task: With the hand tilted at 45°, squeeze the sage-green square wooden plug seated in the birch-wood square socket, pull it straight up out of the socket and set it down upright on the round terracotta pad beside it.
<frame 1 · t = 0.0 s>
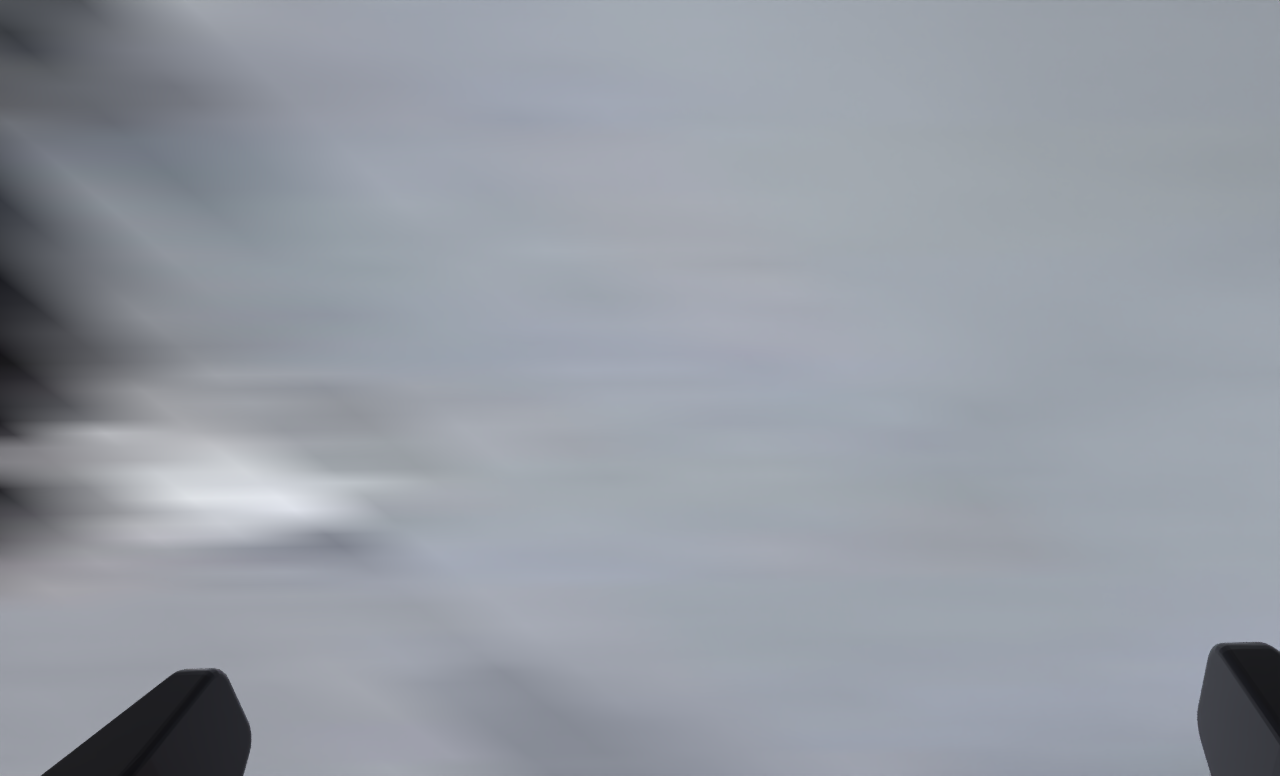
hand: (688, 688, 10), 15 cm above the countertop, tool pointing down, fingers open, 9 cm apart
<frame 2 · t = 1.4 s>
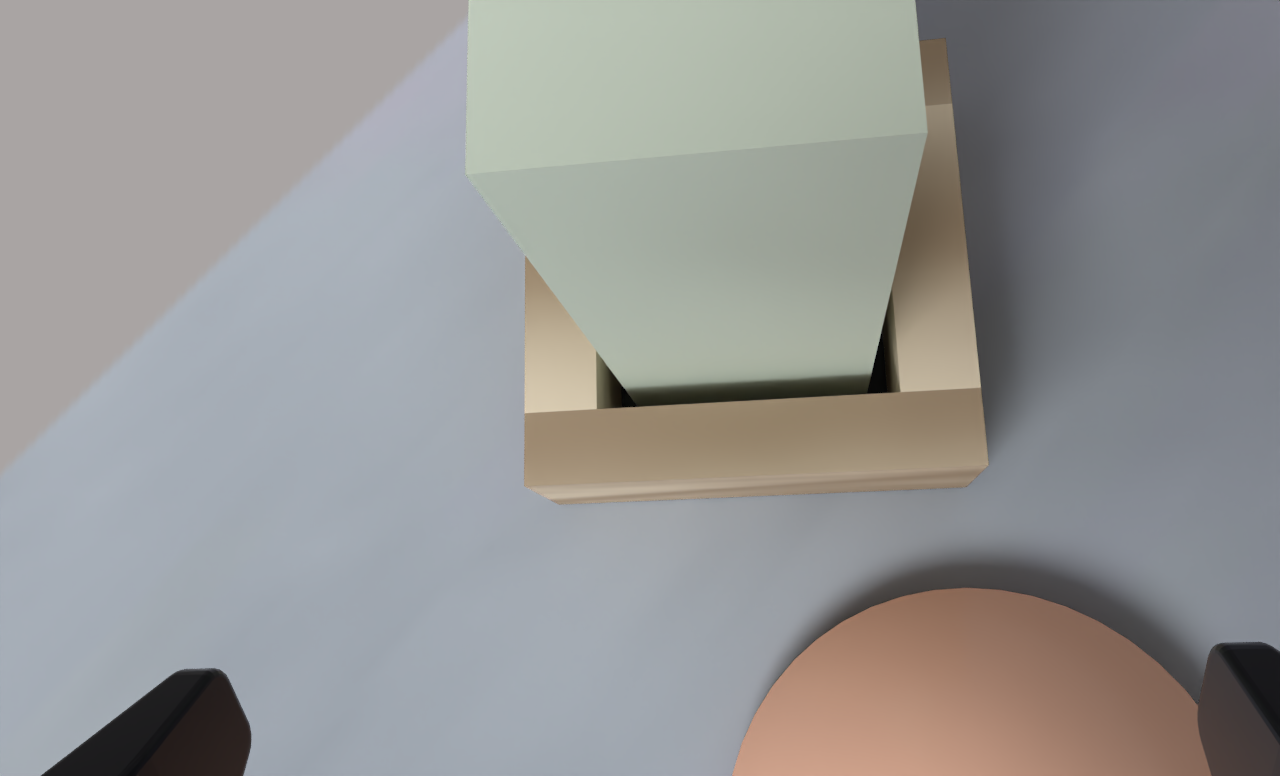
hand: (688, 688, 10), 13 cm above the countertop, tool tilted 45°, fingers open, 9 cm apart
square socket: (747, 303, 24), on the countertop
square plug: (725, 188, 18), in the square socket
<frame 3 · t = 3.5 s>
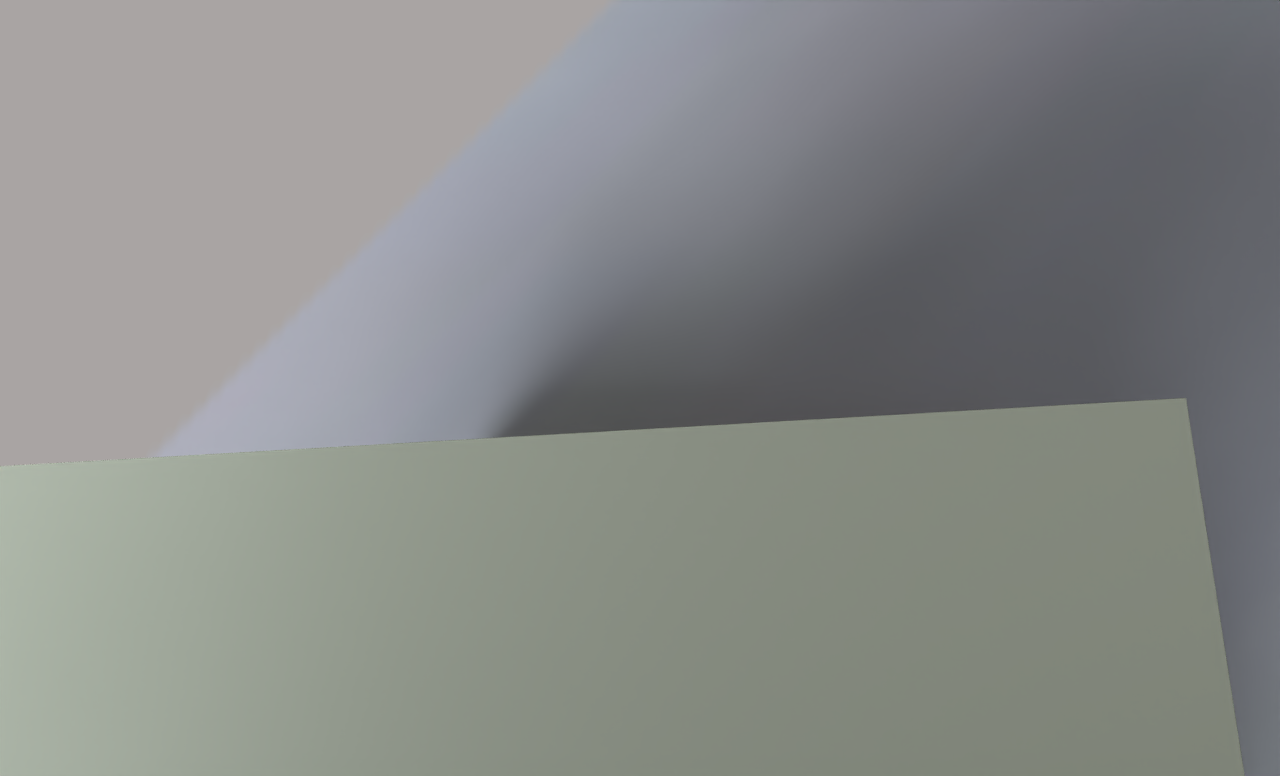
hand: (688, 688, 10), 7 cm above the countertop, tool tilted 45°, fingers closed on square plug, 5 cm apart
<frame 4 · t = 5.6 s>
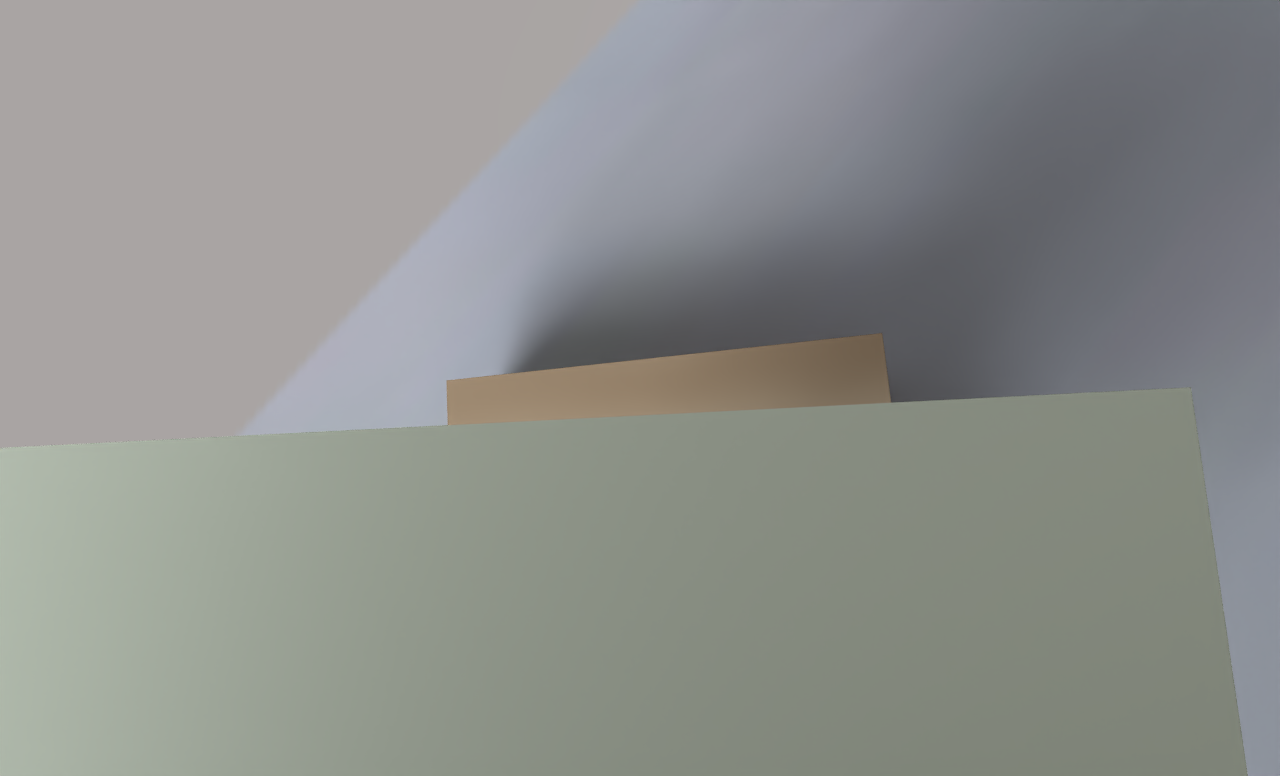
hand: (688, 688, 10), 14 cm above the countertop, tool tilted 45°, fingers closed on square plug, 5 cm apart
square socket: (691, 586, 23), on the countertop
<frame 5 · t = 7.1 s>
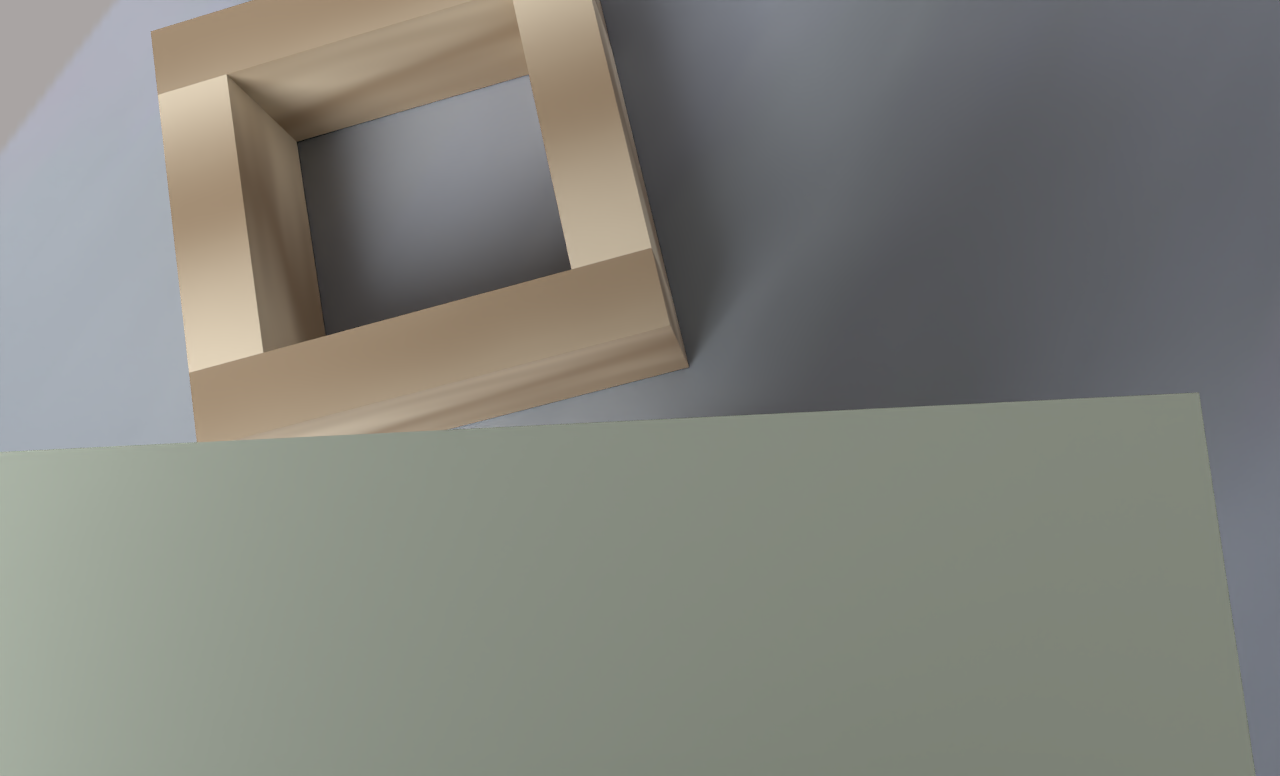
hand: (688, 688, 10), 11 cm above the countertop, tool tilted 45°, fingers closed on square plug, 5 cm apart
square socket: (442, 225, 23), on the countertop
when the fingers open (8 cm above the countertop, at t = 8.0 s): square plug stays where it is, resting on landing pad.
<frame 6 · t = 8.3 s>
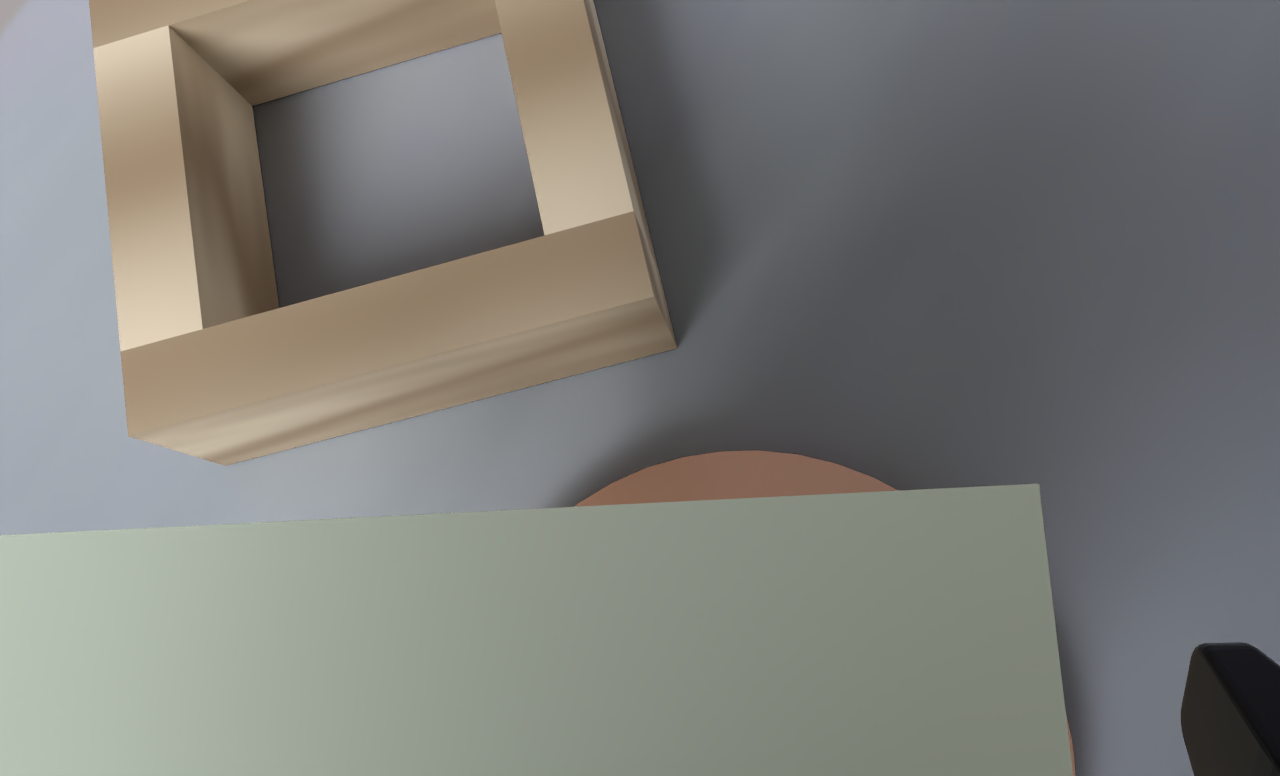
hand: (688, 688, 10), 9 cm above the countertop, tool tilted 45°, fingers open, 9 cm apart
square socket: (409, 195, 21), on the countertop
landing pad: (748, 754, 17), on the countertop
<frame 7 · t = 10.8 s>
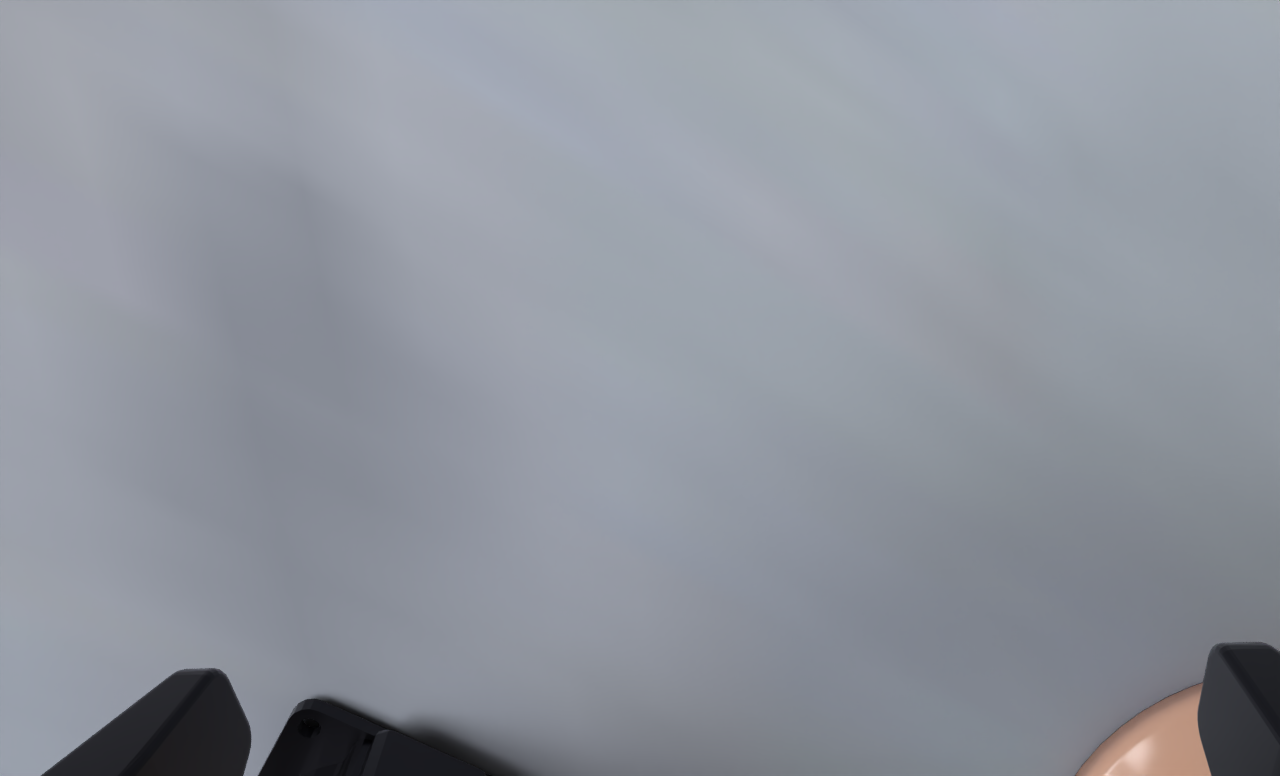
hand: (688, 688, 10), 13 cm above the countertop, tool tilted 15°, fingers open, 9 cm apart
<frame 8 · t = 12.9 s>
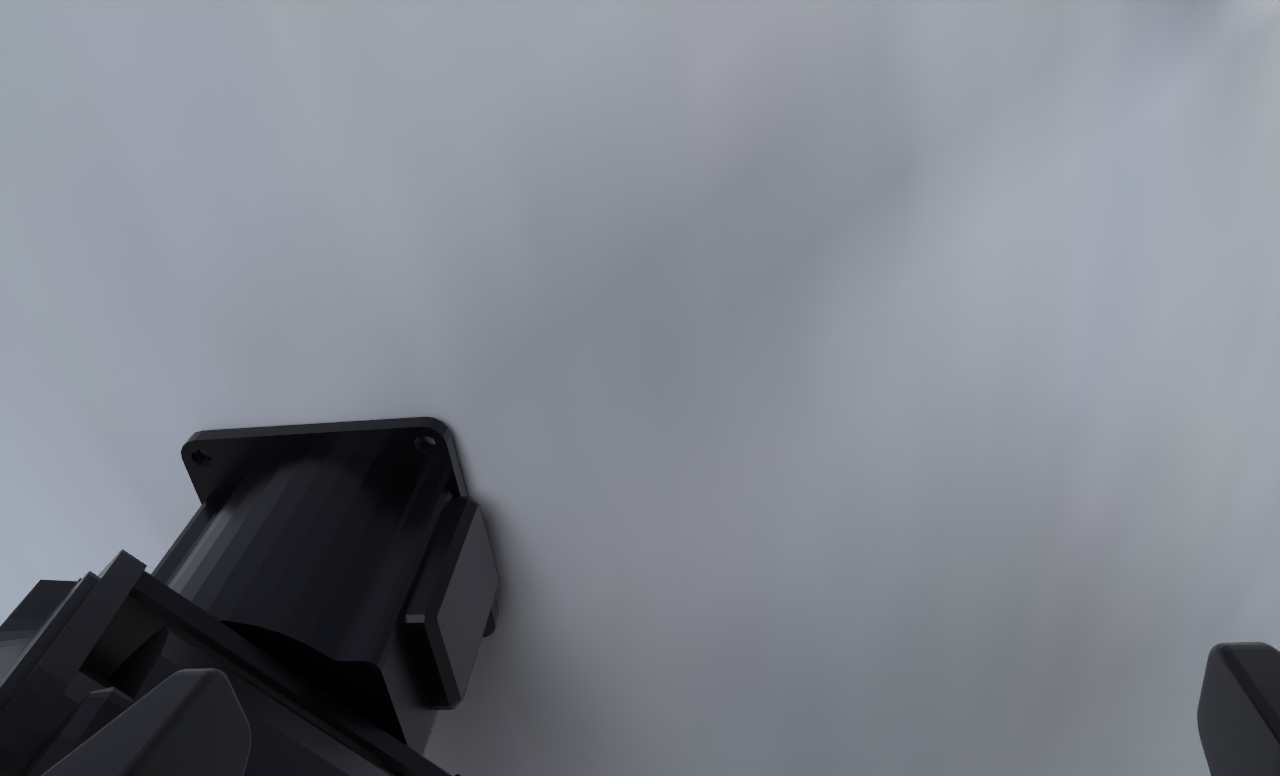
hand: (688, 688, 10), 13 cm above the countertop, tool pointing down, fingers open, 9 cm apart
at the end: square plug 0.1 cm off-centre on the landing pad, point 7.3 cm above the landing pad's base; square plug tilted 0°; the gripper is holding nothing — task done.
